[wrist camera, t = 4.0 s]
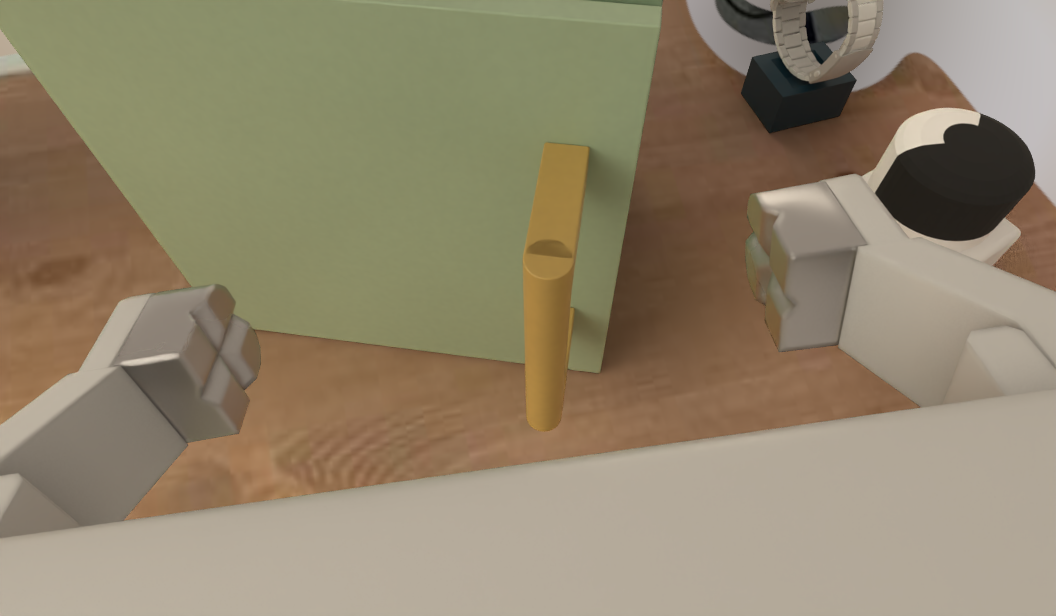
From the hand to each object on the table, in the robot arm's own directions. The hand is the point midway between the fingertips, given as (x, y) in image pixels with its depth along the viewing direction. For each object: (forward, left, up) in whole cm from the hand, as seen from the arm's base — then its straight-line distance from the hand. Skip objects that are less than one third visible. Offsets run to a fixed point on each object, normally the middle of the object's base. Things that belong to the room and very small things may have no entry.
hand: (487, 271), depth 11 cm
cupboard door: (-11, +5, -25) cm, 28 cm away
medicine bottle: (+8, +25, -26) cm, 37 cm away
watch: (-2, +38, -26) cm, 46 cm away
